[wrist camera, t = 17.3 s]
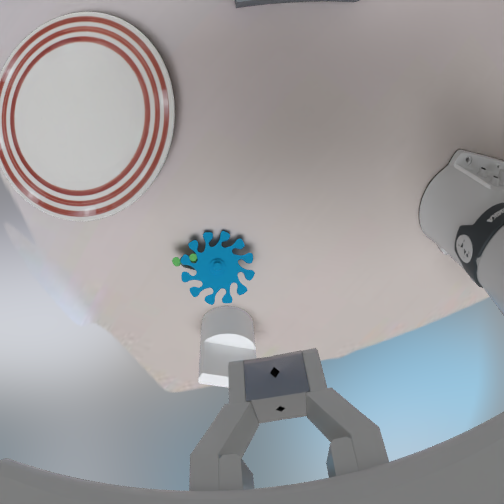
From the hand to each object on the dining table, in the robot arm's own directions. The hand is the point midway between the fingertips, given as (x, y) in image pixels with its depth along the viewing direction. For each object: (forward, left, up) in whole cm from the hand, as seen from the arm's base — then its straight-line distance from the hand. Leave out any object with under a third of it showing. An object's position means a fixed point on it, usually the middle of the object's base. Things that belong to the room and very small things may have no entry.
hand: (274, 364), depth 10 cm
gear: (+7, +16, -31) cm, 36 cm away
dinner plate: (+20, -8, -32) cm, 38 cm away
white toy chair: (+8, +31, -31) cm, 45 cm away
